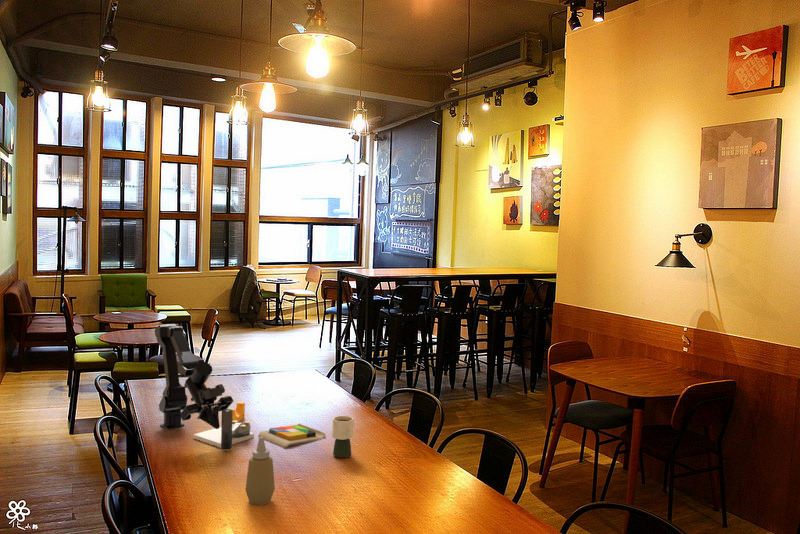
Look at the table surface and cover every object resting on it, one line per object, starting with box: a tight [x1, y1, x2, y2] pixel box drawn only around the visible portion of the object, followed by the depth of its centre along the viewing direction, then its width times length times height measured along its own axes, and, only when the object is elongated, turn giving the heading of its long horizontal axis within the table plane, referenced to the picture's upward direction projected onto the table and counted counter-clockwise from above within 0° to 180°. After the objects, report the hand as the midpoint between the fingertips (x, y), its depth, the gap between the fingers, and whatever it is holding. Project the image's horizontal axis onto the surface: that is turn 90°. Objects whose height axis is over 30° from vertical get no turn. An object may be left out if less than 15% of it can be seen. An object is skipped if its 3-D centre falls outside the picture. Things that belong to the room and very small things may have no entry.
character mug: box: [331, 415, 355, 459], centre depth 211 cm, size 11×7×13 cm, turn 33°
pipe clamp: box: [231, 401, 246, 422], centre depth 245 cm, size 12×4×6 cm, turn 173°
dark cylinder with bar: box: [220, 408, 251, 451], centre depth 220 cm, size 8×19×13 cm, turn 176°
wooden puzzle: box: [258, 423, 326, 449], centre depth 229 cm, size 18×19×4 cm
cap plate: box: [193, 426, 255, 449], centre depth 225 cm, size 15×15×2 cm
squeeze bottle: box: [245, 437, 276, 506], centre depth 173 cm, size 8×8×18 cm
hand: (218, 428), depth 213 cm, fingers closed
